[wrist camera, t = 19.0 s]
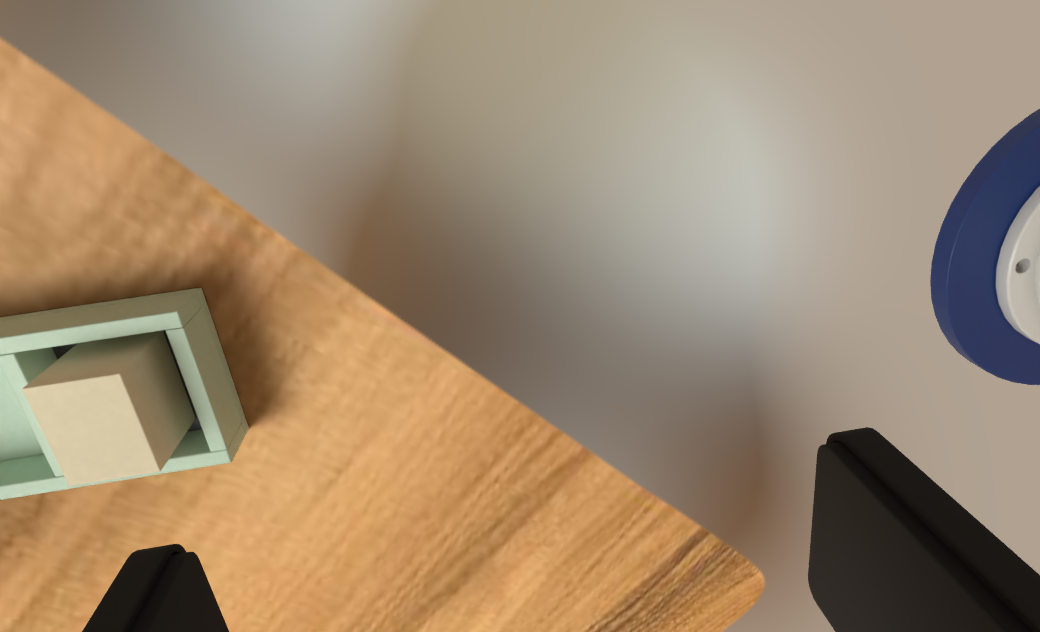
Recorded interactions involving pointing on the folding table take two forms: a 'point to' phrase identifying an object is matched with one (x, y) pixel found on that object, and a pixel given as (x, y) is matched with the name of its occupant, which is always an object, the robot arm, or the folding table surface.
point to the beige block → (112, 407)
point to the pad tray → (50, 334)
